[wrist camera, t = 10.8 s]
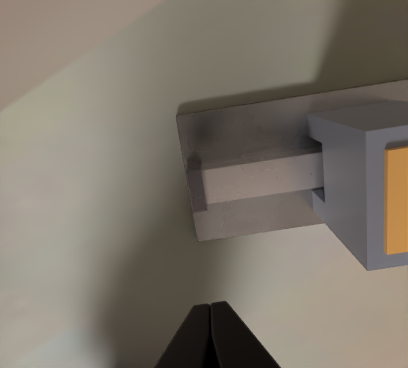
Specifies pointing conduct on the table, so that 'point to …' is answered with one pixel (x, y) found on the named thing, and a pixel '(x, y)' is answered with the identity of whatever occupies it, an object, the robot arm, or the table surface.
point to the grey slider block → (365, 180)
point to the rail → (263, 139)
